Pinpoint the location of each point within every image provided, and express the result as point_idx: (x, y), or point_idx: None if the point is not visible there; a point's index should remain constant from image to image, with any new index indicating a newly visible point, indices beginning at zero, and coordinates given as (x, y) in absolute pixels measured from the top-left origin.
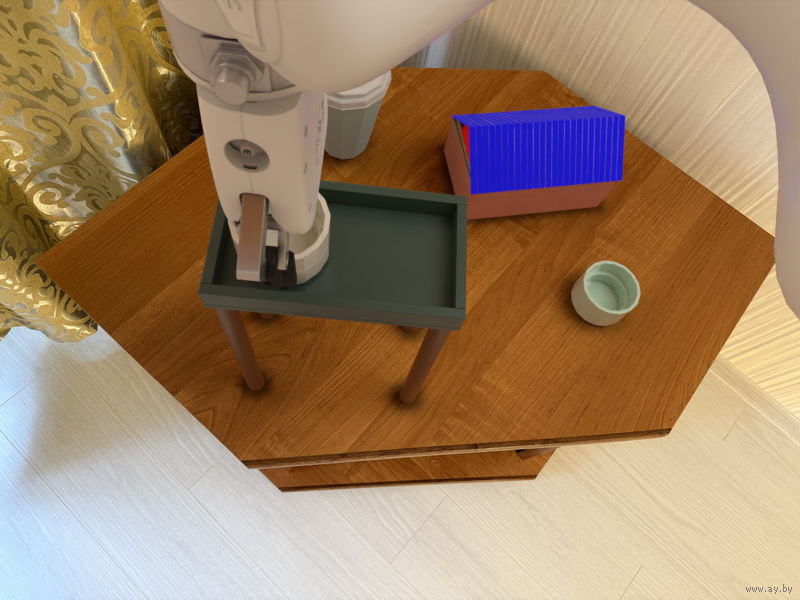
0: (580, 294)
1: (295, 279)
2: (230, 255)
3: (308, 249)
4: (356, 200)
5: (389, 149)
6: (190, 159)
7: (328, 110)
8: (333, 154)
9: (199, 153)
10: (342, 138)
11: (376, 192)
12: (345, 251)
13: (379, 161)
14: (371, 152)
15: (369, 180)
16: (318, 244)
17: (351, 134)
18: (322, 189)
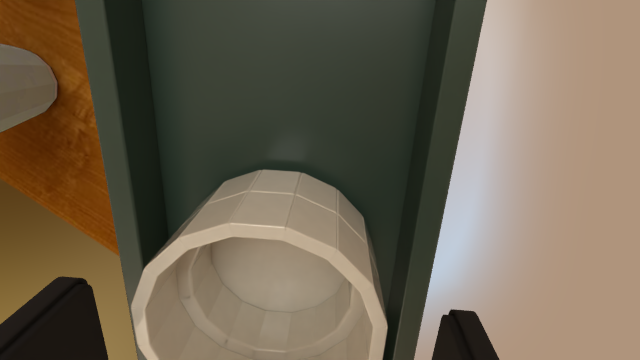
0: None
1: (490, 344)
2: None
3: (347, 275)
4: (141, 114)
5: (18, 14)
6: (112, 244)
7: None
8: (53, 94)
9: (102, 237)
10: (21, 88)
11: (106, 67)
12: (275, 130)
13: (42, 29)
14: (32, 41)
15: (76, 43)
16: (329, 250)
17: (8, 76)
18: (136, 203)
